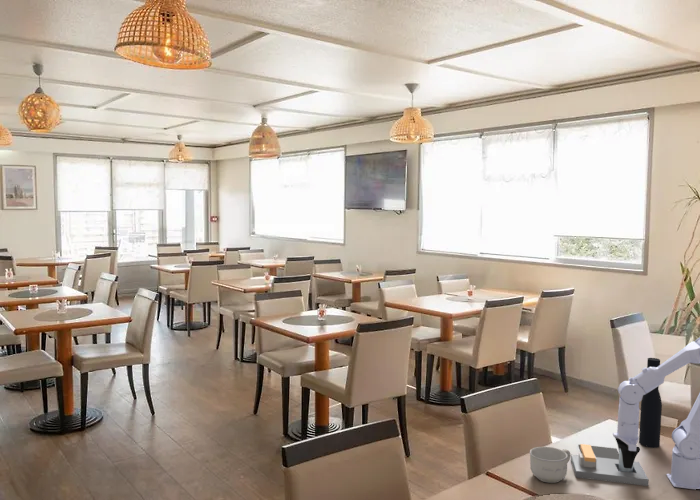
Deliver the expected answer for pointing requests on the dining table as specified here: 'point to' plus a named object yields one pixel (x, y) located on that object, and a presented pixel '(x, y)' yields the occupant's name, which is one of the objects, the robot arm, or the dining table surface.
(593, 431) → the dining table surface
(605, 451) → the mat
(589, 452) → the plunger
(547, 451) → the teacup
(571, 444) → the dining table surface
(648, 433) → the black bottle
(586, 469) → the housing
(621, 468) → the cylinder
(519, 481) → the dining table surface
